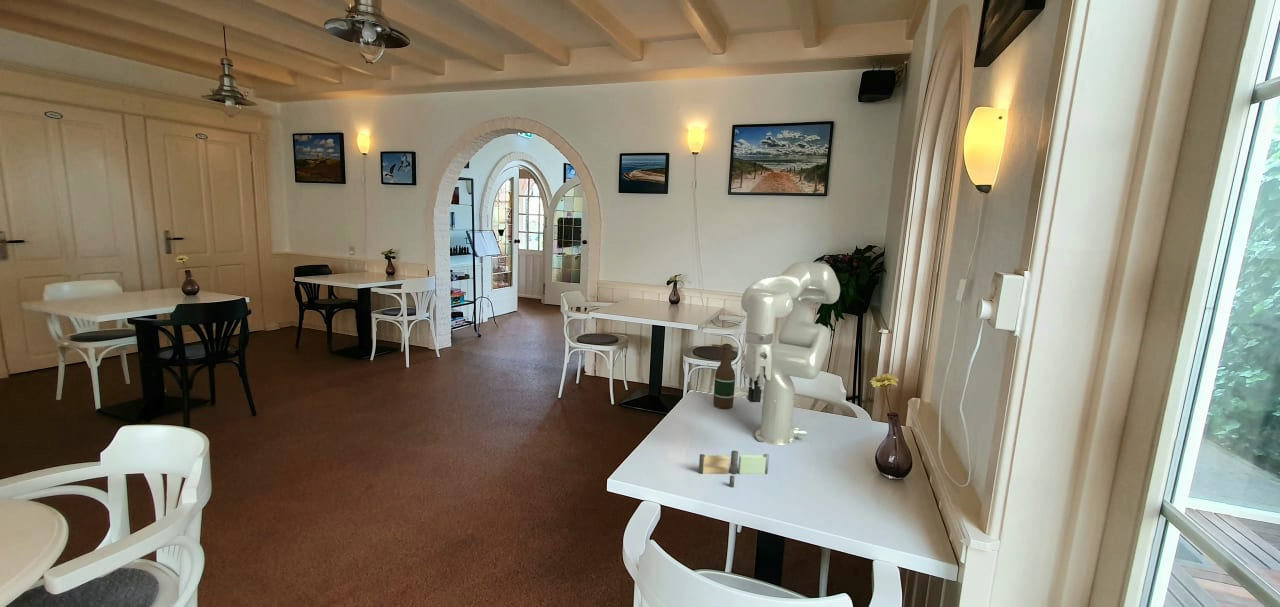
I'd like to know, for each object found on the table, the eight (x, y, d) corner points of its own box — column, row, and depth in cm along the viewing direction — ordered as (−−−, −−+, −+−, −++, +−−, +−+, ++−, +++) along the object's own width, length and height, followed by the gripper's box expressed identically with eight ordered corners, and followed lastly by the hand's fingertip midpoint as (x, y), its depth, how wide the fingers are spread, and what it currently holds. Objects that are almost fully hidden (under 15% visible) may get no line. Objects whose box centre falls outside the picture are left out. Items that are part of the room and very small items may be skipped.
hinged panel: (739, 474, 139) (741, 456, 138) (738, 471, 140) (739, 453, 139) (768, 474, 139) (769, 456, 139) (766, 471, 141) (768, 453, 140)
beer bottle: (735, 404, 195) (740, 343, 192) (730, 410, 188) (734, 348, 185) (715, 400, 199) (720, 341, 195) (710, 407, 192) (714, 345, 188)
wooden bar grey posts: (735, 472, 140) (737, 450, 139) (744, 488, 132) (746, 465, 131) (698, 472, 140) (699, 450, 139) (704, 488, 131) (705, 465, 130)
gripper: (781, 344, 133) (775, 411, 136) (764, 332, 148) (759, 392, 151) (753, 344, 133) (748, 411, 136) (738, 331, 148) (734, 392, 151)
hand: (754, 401), depth 143 cm, fingers closed
